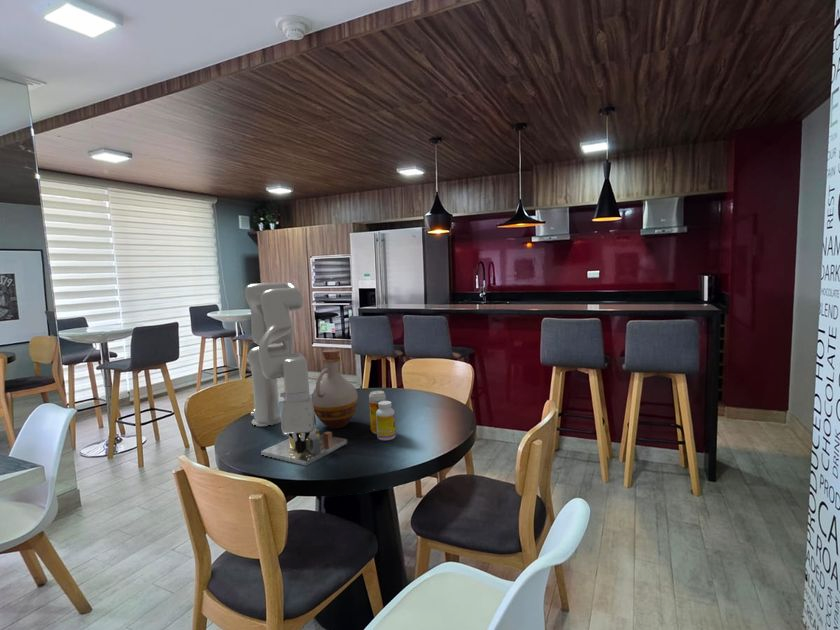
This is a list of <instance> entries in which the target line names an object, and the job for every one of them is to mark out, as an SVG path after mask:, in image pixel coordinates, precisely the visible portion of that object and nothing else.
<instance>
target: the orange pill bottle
mask: <svg viewBox="0 0 840 630" xmlns="http://www.w3.org/2000/svg"><path fill="white" fill-rule="evenodd" d="M386 398H387V397H386V393H385V391H383V390H373V391H370V392H369V395H368V401H369V405H368V406H369V419H370V420H369V422H370V431H371V433H372V434H374V435H377V422H376V411H377V410H378V409H379V406H378V403H379V402H381V401H387V399H386Z"/></svg>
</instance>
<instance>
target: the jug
mask: <svg viewBox="0 0 840 630" xmlns="http://www.w3.org/2000/svg"><path fill="white" fill-rule="evenodd" d="M340 353H341V350H340V349H326V350H325V349H324V350H322V355H323V358H322V361H323V362H324V364H325V365H324V366H325V368H324V369H322V370H321V372H320V373H319V374H318V376H317V379H316V382H315V388H314V389H313V392H312V393H311V399H312V402H313V406H314V411H315V416H316V418H317V419H319V421H320V422H321V423H322V424H323V425H324V426H325V427H326V428H329V429H341V428H343V427H345V426H348V424H349V423H350V421H351V419H352V418H353V416H354V414H355V412H356V409H357V405H358V399H359V398H358V397H359V396H358V395H359V394H358V392H357V388H355V386H354V385H353V383H351V382H349V380H347V379H346V378H345V377H343V376H342V375H341V374H340V371H339V369H340V368H339V364H340V361H341V356H340ZM325 374H326V375H325ZM324 375H325V376H324ZM323 376H324V378H323Z"/></svg>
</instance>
